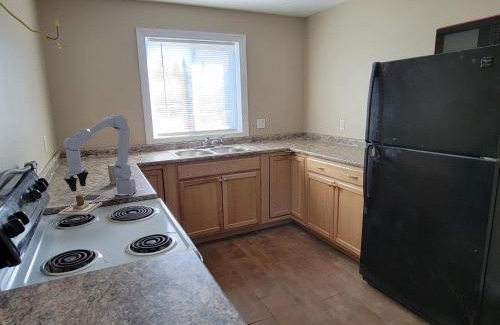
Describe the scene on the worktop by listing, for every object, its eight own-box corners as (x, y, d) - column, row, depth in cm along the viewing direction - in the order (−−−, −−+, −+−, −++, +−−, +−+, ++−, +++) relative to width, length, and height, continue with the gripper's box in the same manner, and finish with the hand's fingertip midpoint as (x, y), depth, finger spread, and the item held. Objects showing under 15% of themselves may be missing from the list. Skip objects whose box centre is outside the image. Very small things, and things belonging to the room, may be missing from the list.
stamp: (88, 205, 154) (87, 194, 153) (82, 209, 149) (80, 197, 148) (79, 205, 155) (77, 194, 153) (73, 209, 150) (71, 197, 148)
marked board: (102, 203, 159) (102, 202, 158) (87, 214, 145) (86, 212, 145) (76, 203, 159) (76, 201, 159) (58, 214, 146) (58, 212, 146)
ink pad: (101, 197, 169) (101, 194, 168) (93, 202, 161) (93, 199, 161) (87, 197, 169) (87, 194, 169) (79, 202, 161) (78, 199, 161)
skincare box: (119, 181, 198) (117, 162, 195) (122, 182, 195) (120, 163, 192) (109, 183, 193) (107, 164, 190) (112, 184, 190) (110, 165, 188)
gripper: (75, 158, 158) (79, 184, 161) (56, 165, 144) (61, 193, 147) (88, 158, 157) (92, 184, 161) (71, 165, 143) (75, 193, 147)
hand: (78, 188), depth 154 cm, fingers open, 7 cm apart
